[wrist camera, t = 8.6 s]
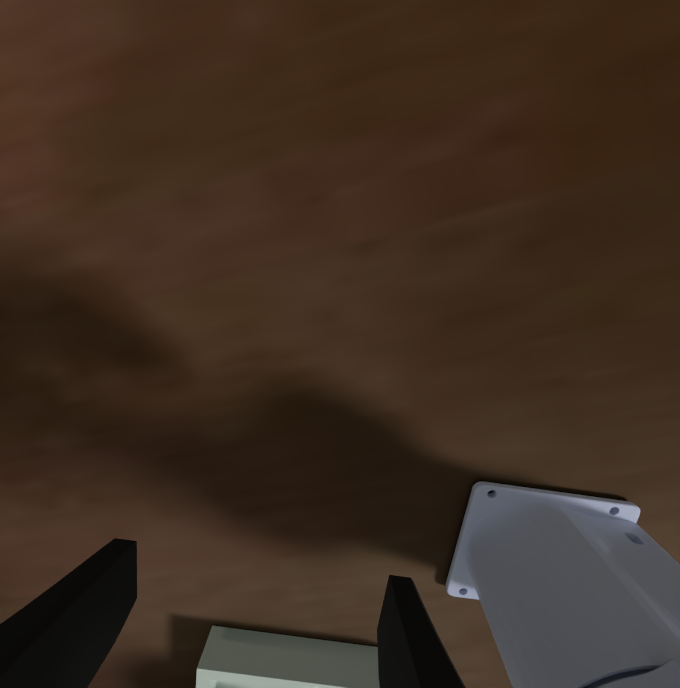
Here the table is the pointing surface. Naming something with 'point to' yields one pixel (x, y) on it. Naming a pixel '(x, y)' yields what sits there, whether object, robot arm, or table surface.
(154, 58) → the table surface
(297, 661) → the tray
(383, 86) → the table surface
